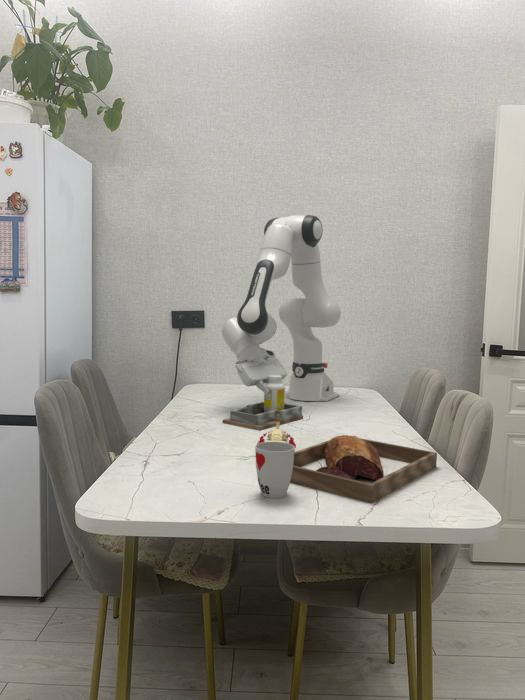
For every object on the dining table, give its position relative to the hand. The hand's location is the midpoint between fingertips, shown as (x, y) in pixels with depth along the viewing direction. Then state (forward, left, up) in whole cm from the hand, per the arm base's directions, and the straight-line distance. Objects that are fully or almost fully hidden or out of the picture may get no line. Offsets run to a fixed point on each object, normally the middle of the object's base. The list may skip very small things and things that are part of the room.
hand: (275, 391), depth 196 cm
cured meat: (+36, +48, -9) cm, 61 cm away
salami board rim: (+34, +49, -9) cm, 60 cm away
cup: (+59, +44, -9) cm, 74 cm away
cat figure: (+32, +24, -9) cm, 41 cm away
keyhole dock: (+6, -1, -9) cm, 11 cm away
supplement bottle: (0, -1, -8) cm, 8 cm away
